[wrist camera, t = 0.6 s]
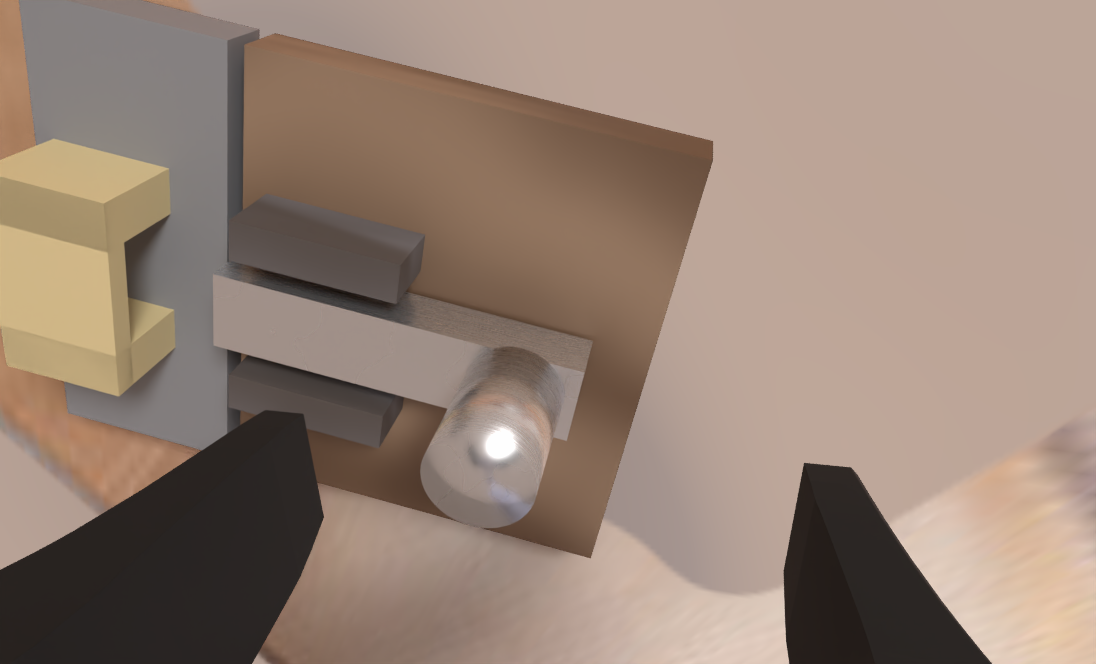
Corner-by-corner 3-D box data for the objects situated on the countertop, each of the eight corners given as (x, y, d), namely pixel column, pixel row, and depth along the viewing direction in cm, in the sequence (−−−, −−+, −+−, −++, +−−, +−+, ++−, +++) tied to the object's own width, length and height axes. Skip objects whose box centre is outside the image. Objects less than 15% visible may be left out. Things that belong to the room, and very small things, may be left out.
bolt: (574, 412, 22) (539, 545, 17) (243, 324, 22) (130, 431, 18) (594, 334, 20) (562, 455, 16) (244, 242, 21) (123, 336, 17)
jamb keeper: (251, 428, 26) (179, 513, 22) (100, 386, 26) (6, 464, 23) (259, 29, 20) (163, 62, 16) (62, -20, 20) (-74, 2, 17)
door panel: (597, 522, 25) (581, 605, 22) (263, 431, 26) (207, 500, 23) (713, 141, 19) (712, 187, 16) (275, 33, 20) (201, 60, 17)
